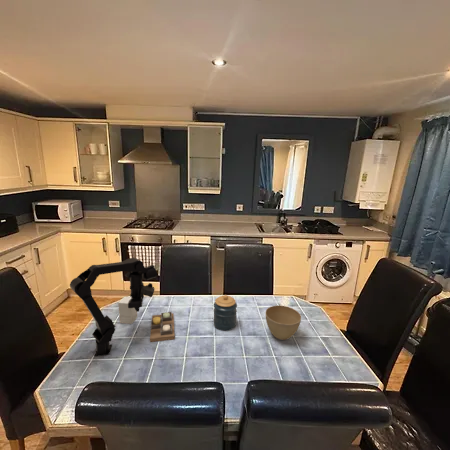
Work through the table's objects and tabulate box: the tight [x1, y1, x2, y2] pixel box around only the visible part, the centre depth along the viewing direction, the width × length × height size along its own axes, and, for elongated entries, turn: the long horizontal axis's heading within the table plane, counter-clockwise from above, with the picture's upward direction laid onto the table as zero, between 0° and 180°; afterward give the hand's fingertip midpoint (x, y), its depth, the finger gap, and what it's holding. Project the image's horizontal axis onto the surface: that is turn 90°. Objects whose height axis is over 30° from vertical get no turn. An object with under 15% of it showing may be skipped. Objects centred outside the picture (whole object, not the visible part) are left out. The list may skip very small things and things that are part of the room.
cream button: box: [163, 325, 170, 331], centre depth 130 cm, size 4×4×2 cm
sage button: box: [163, 311, 170, 318], centre depth 142 cm, size 4×4×2 cm
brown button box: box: [149, 311, 176, 343], centre depth 136 cm, size 21×12×4 cm, turn 13°
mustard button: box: [153, 317, 161, 325], centre depth 135 cm, size 4×4×2 cm
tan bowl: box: [265, 305, 302, 341], centre depth 132 cm, size 18×18×12 cm
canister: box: [213, 294, 238, 331], centre depth 140 cm, size 13×13×18 cm
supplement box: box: [117, 296, 138, 325], centre depth 142 cm, size 7×7×13 cm
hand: (137, 311), depth 129 cm, fingers closed
